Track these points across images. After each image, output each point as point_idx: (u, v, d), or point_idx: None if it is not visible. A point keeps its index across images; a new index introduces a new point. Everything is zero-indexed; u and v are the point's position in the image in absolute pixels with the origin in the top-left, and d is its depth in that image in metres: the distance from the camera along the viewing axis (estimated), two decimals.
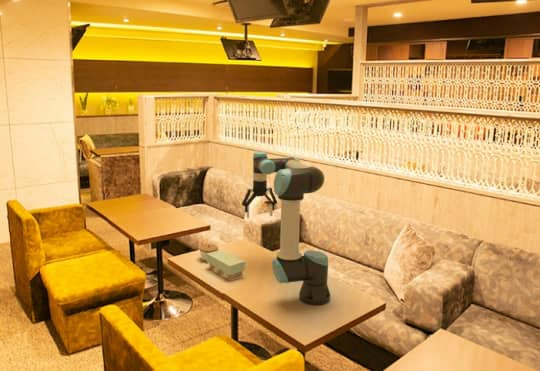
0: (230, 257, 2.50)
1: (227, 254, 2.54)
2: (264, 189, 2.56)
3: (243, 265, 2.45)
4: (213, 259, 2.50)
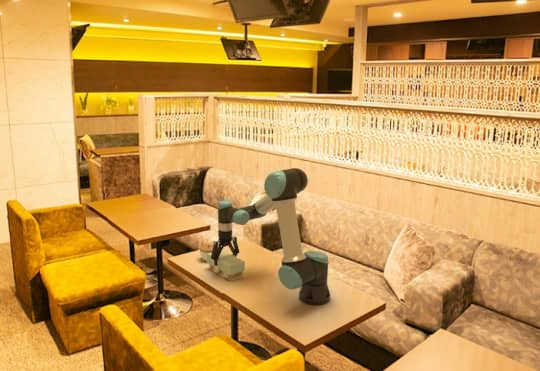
0: (230, 257, 2.50)
1: (227, 254, 2.54)
2: (230, 238, 2.48)
3: (243, 265, 2.45)
4: None
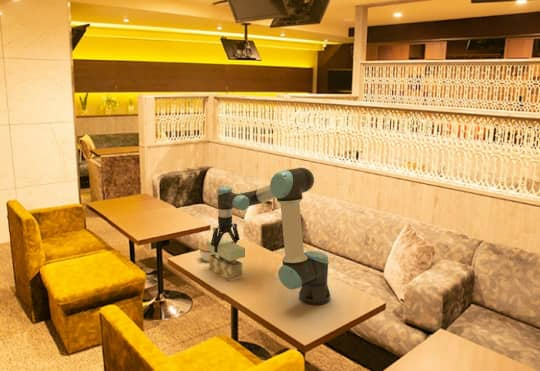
0: (230, 244, 2.48)
1: (227, 241, 2.53)
2: (230, 225, 2.47)
3: (243, 251, 2.43)
4: (213, 246, 2.48)
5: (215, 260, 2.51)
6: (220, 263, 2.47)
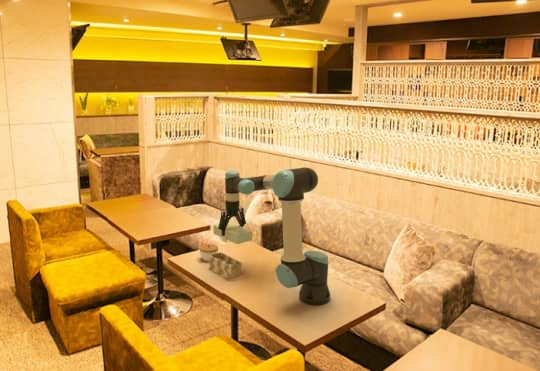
0: (237, 228, 2.52)
1: (234, 225, 2.56)
2: (237, 209, 2.50)
3: (250, 235, 2.47)
4: (220, 230, 2.52)
5: (215, 260, 2.51)
6: (220, 263, 2.47)
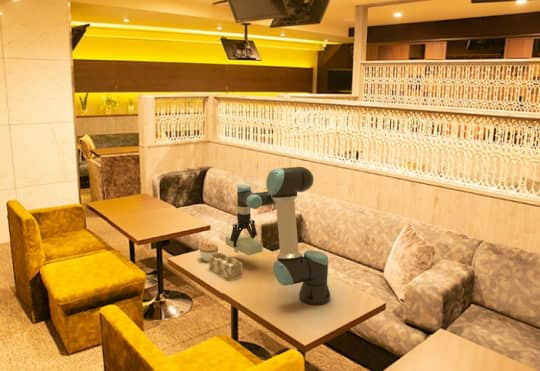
0: (248, 239, 2.62)
1: (245, 236, 2.66)
2: (248, 221, 2.60)
3: (261, 246, 2.57)
4: (232, 241, 2.62)
5: (215, 260, 2.51)
6: (220, 263, 2.47)
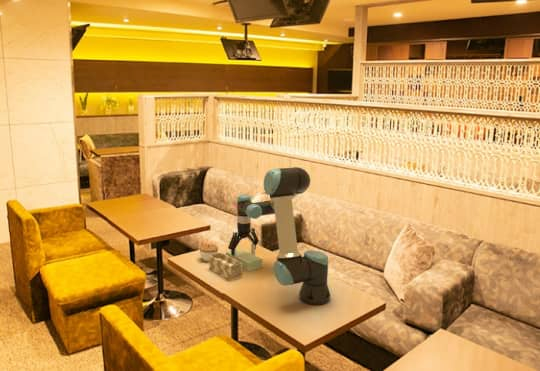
0: (248, 255, 2.64)
1: (245, 252, 2.68)
2: (248, 230, 2.62)
3: (261, 262, 2.59)
4: None
5: (215, 260, 2.51)
6: (220, 263, 2.47)
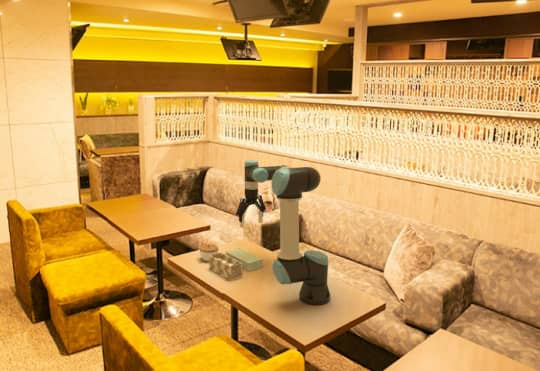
0: (248, 255, 2.64)
1: (245, 252, 2.68)
2: (255, 197, 2.58)
3: (261, 262, 2.59)
4: (232, 257, 2.64)
5: (215, 260, 2.51)
6: (220, 263, 2.47)
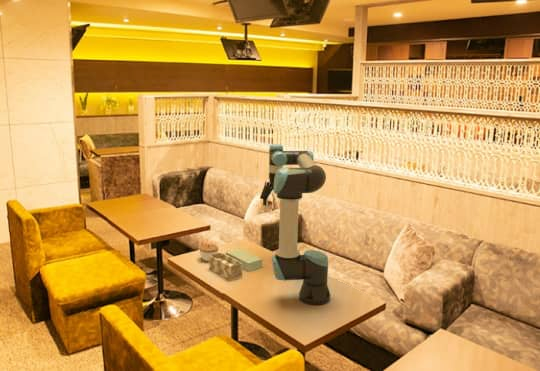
0: (248, 255, 2.64)
1: (245, 252, 2.68)
2: None
3: (261, 262, 2.59)
4: (232, 257, 2.64)
5: (215, 260, 2.51)
6: (220, 263, 2.47)
